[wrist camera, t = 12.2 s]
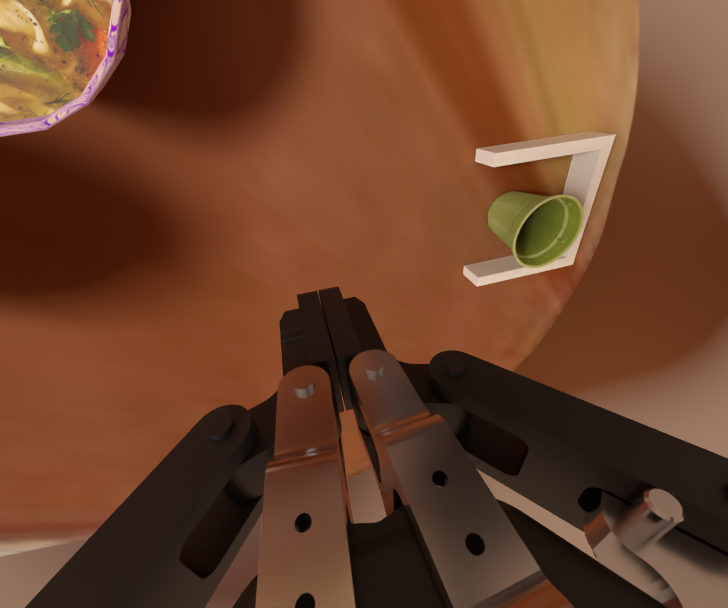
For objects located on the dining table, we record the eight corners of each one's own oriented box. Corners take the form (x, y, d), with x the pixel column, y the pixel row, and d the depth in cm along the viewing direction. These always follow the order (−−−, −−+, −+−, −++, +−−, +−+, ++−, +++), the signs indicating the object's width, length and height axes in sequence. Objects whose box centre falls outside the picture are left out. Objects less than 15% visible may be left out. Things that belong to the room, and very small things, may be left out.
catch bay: (476, 148, 39) (495, 153, 36) (588, 131, 42) (615, 134, 38) (463, 274, 49) (476, 286, 46) (553, 254, 52) (572, 264, 49)
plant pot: (507, 251, 49) (547, 276, 42) (463, 231, 45) (499, 256, 38) (546, 194, 45) (597, 212, 38) (501, 166, 41) (550, 181, 34)
